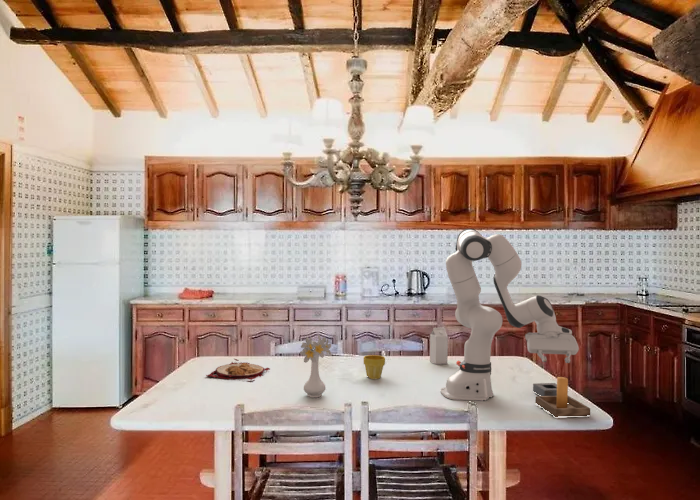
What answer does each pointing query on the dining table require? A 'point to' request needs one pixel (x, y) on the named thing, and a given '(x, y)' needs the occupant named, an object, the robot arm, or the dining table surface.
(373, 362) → the plant pot
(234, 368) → the plate with food
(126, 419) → the dining table surface
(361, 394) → the dining table surface
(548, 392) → the bracket
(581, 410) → the walnut tray
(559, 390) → the pin
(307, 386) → the flower vase
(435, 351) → the milk carton
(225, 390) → the dining table surface
